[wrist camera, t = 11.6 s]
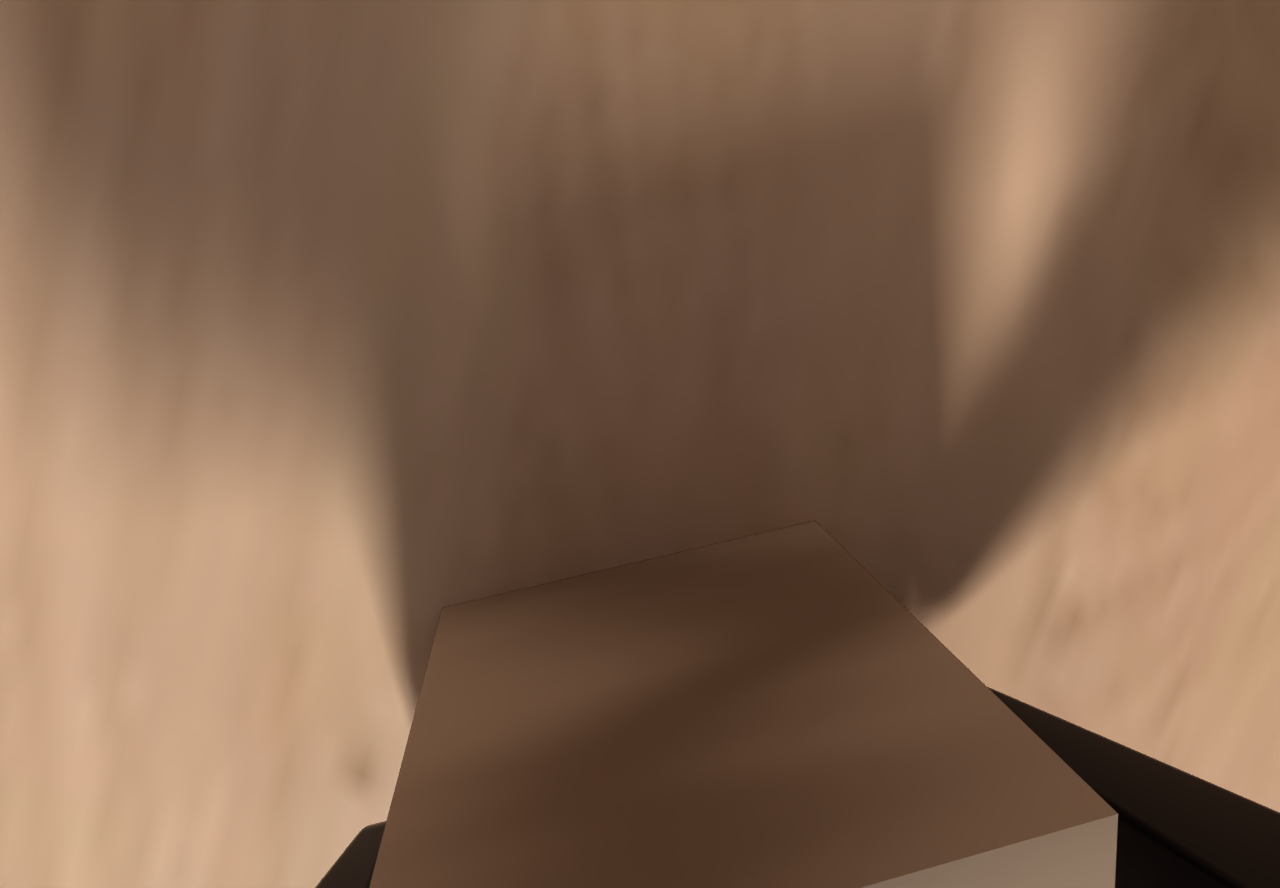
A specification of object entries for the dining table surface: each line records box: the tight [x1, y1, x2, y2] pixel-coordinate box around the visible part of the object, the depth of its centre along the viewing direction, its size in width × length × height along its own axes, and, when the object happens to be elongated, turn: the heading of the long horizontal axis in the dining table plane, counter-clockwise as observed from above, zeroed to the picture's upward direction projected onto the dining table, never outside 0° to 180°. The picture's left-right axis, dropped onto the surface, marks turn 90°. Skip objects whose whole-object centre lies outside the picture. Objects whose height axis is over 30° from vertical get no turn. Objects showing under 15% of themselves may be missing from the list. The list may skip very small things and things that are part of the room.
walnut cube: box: [369, 521, 1118, 888], centre depth 7 cm, size 5×5×5 cm
